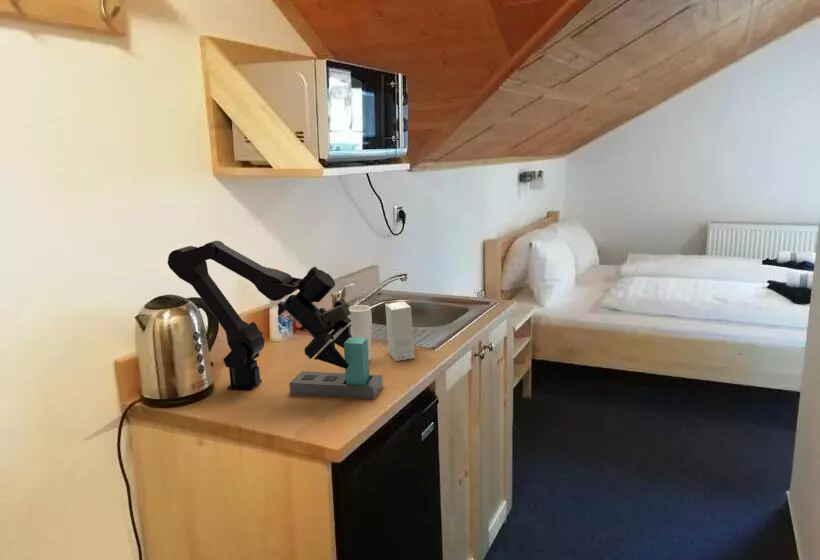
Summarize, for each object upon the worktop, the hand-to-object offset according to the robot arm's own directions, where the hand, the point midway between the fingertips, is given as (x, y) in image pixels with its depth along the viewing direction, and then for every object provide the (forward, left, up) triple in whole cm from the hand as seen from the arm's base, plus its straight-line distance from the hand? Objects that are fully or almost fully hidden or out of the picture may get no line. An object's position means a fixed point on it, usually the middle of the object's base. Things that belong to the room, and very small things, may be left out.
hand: (353, 360), depth 153 cm
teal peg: (+1, 0, -8) cm, 8 cm away
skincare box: (+5, +27, -8) cm, 29 cm away
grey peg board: (-5, 0, -8) cm, 9 cm away
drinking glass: (-5, +22, -8) cm, 24 cm away
